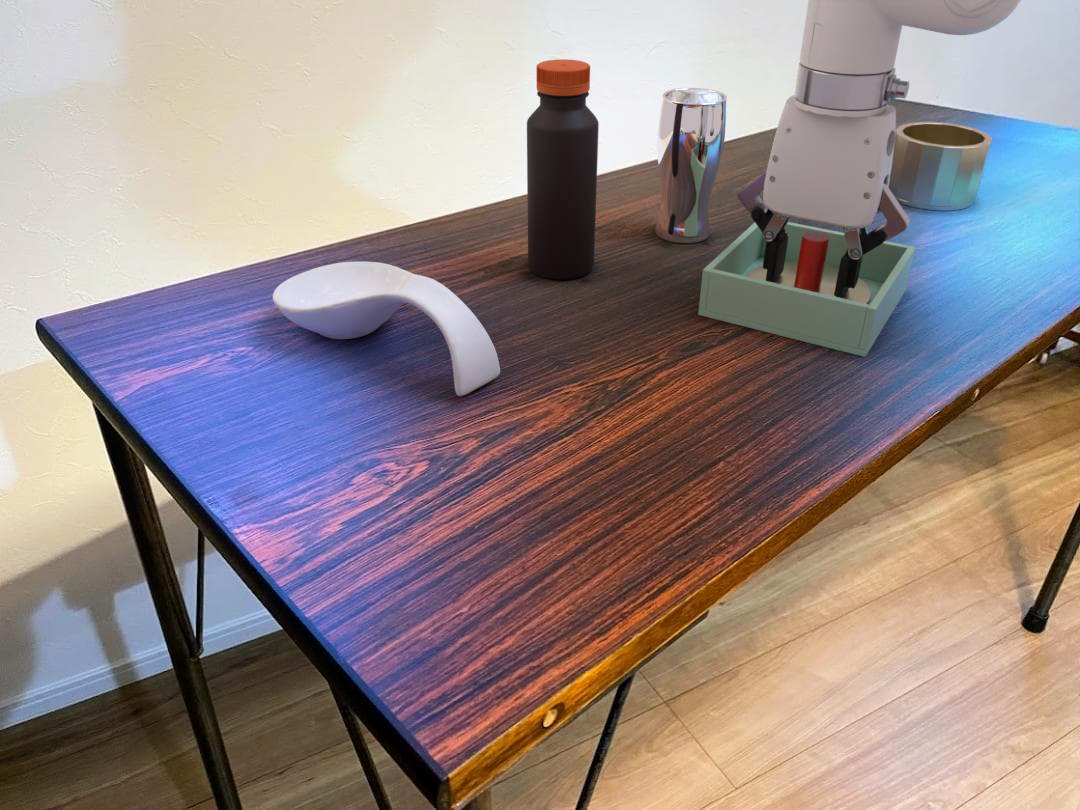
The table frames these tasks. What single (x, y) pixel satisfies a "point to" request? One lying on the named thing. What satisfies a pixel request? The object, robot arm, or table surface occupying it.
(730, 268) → the tray
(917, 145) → the pot
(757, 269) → the lid
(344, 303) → the spoon rest
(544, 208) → the bottle
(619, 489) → the table surface
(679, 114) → the silver metal tumbler
